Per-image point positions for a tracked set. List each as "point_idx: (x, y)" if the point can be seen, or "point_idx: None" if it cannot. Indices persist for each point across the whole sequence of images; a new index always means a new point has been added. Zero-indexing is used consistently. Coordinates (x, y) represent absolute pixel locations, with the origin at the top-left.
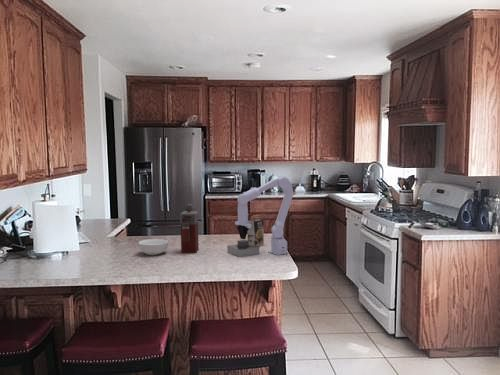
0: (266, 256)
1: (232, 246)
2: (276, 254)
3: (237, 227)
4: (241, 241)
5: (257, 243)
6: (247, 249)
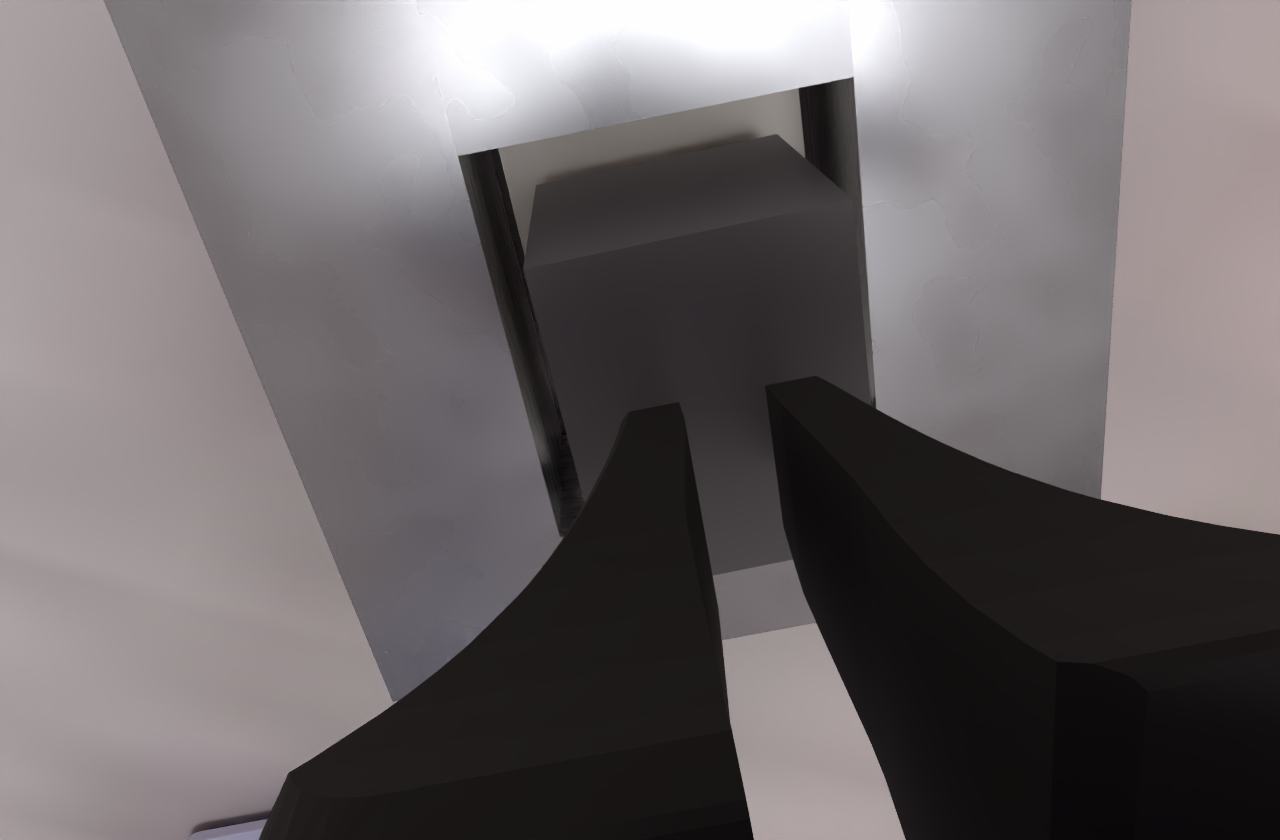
0: (143, 635)
1: None
2: (212, 831)
3: (1246, 627)
4: (601, 312)
5: None
6: (247, 325)
